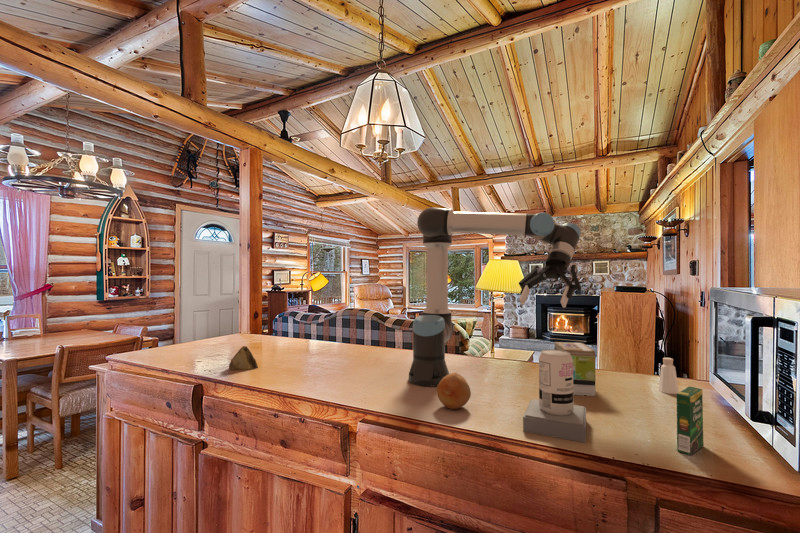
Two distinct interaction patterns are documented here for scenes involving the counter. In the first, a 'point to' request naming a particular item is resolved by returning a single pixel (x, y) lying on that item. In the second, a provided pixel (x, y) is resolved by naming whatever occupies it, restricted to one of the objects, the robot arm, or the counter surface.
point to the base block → (555, 423)
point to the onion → (453, 391)
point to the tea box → (581, 367)
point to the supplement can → (556, 382)
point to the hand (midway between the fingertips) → (541, 303)
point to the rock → (243, 360)
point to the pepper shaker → (668, 377)
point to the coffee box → (689, 420)
